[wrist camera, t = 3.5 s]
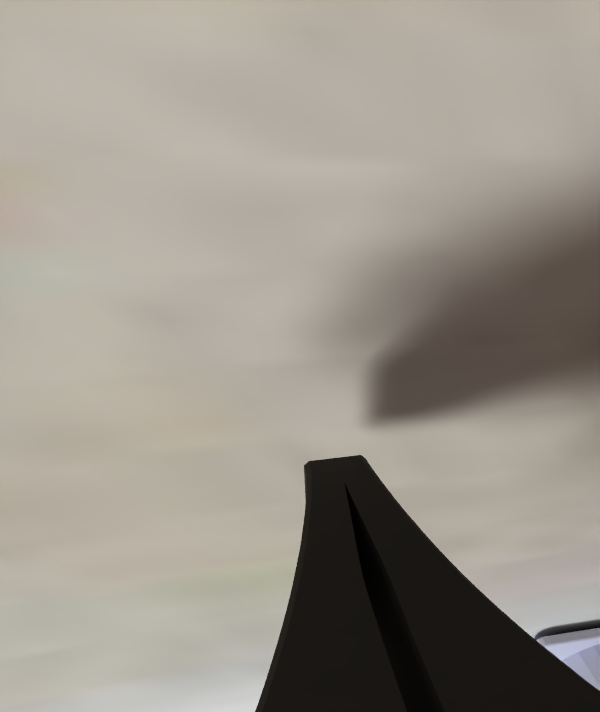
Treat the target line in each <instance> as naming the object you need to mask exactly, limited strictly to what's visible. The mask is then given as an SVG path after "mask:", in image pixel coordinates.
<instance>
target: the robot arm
mask: <svg viewBox="0 0 600 712" xmlns="http://www.w3.org/2000/svg"><path fill="white" fill-rule="evenodd" d="M304 474H305V494H306V507H305V517H304V525H303V532H302V540H301V546H300V552H299V557H298V562H297V567H296V572H295V577H294V581H293V586H292V590H291V595H290V599H289V603H288V607H287V611H286V614H285V618H284V622H283V625H282V629H281V633H280V636H279V640H278V643H277V646H276V650H275V653H274V656H273V659H272V663H271V666H270V669H269V673H268V676H267V679H266V682H265V685H264V688H263V691H262V694H261V697H260V700H259V703H258V706H257V708H256V711H255V712H600V628H595V629H588V630H582V631H576V632H569V633H563V634H557V635H550V636H545V637H541V638H539V639H537V640H535V639H534V638H532V637H531V636H530V635H529V634H528V633H526V632H525V631H524V630H523V629H522V628H521V627H519V626H518V625H517V624H516V623H515V622H514V621H513V620H511V619H510V618H509V617H508V616H507V615H506V614H505V613H504V612H502V611H501V610H500V609H499V608H498V607H497V606H496V605H495V604H494V603H492V602H491V601H490V600H489V599H488V598H487V597H486V596H485V595H484V594H483V593H482V592H481V591H480V590H478V589H477V588H476V587H475V586H474V585H473V584H472V583H471V582H470V581H469V580H468V579H467V578H466V577H465V576H464V575H463V574H462V573H461V572H460V571H459V570H458V569H457V568H456V567H455V566H454V565H453V564H452V563H451V562H450V561H449V560H448V559H447V558H446V557H445V555H444V554H443V553H442V552H441V551H440V550H439V549H438V548H437V547H436V546H435V545H434V544H433V543H432V542H431V541H430V539H429V538H428V537H427V536H426V535H425V534H424V533H423V532H422V530H421V529H420V528H419V527H418V526H417V525H416V523H415V522H414V521H413V520H412V519H411V518H410V516H409V515H408V514H407V513H406V512H405V511H404V509H403V508H402V507H401V506H400V504H399V503H398V502H397V501H396V500H395V498H394V497H393V496H392V494H391V493H390V492H389V491H388V489H387V488H386V487H385V485H384V484H383V483H382V481H381V480H380V479H379V477H378V476H377V475H376V473H375V472H374V470H373V469H372V468H371V466H370V465H369V463H368V462H367V460H366V459H365V458H364V457H363V456H361V455H358V456H349V457H341V458H332V459H324V460H315V461H309V462H308V463H306V464H305V465H304Z"/></svg>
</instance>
